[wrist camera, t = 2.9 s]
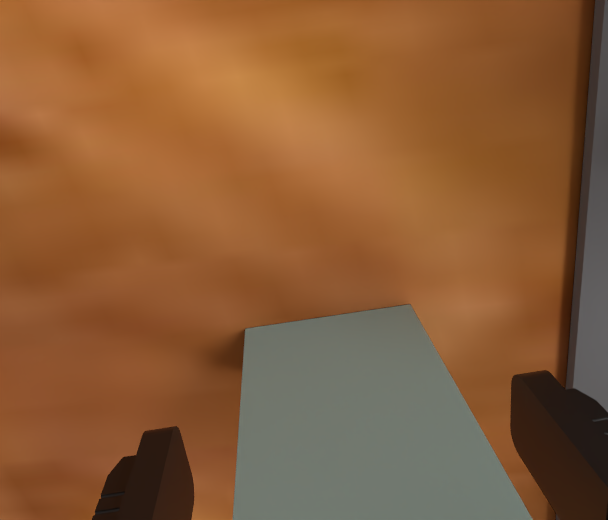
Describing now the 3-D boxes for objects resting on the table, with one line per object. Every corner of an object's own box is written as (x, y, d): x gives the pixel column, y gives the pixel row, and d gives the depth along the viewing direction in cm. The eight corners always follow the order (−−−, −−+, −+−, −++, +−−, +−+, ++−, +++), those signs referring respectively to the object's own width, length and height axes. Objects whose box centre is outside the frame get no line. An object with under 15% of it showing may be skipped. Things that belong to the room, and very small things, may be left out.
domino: (245, 328, 16) (218, 732, 6) (410, 304, 16) (617, 667, 7) (254, 373, 16) (240, 800, 7) (412, 349, 16) (605, 740, 7)
